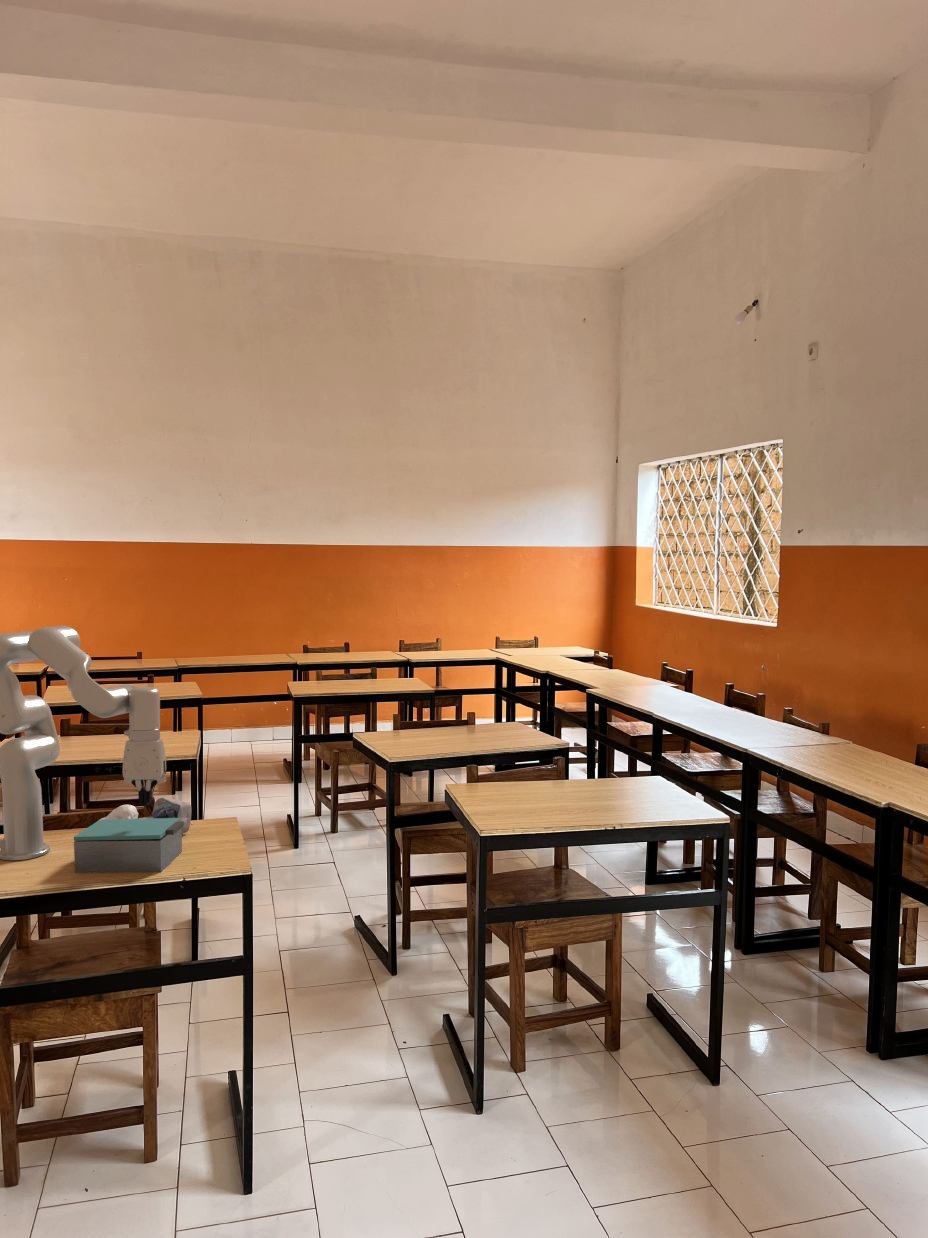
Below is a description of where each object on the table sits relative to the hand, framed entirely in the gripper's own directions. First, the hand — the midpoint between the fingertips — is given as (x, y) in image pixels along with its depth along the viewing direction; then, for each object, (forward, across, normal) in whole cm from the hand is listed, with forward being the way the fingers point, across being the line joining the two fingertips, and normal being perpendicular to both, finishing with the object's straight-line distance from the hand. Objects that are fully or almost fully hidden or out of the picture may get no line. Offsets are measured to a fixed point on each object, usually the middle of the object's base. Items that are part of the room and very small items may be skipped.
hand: (145, 804), depth 236 cm
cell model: (+16, -4, +20) cm, 26 cm away
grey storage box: (+15, -4, 0) cm, 16 cm away
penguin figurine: (+16, -18, +26) cm, 36 cm away
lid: (+7, -3, 0) cm, 8 cm away
